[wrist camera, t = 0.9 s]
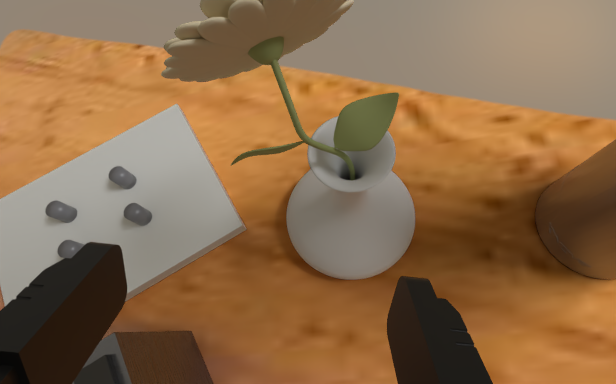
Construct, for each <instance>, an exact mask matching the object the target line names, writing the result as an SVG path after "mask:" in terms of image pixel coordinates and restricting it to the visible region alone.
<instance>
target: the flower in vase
mask: <svg viewBox="0 0 616 384" xmlns="http://www.w3.org/2000/svg"><path fill="white" fill-rule="evenodd" d="M345 1H346V0H201V2H200V7H201V10H202V12H203V13H204V14H205V15H206V16H207V17H208V19H206V20H204V21H194V22H189V23H184V24H182V25H180V26H179V27H178V28H176V30H175V35H176V37H177V38H173V39H171V40H169V41H167V42H166V43H165V45H164V49H165V50H166V51H167V52H168V53H169V54H170V55H172V57H169V58H168V59H166V60H165V62H164V64H165V65H166V66H167V68H166V70H164V71H163V72H162V74H161V75H162V76H163V77H165V78H170V79H177V78H179V79H180V80H181V81H187V82H191V81H197V82H207V81H211V80H215V79H218V78H227V77H231V76H234V75H236V74H239V73H241V72H243V71H244V72H247V71H250V70H253V69H255V68H257V67H259V66H261V65H271V66H272V69H273V71H274V74H275V77H276V79H277V82H278V85H279V87H280V90H281V92H282V95H283V98H284V100H285V103H286V106H287V108H288V111H289V114H290V116H291V119H292V122H293V125H294V127H295V130H296V132H297V134H298V135H299V137H300V138H301V139H302V140H303V141H300V142H296V143H292V144H287V145H283V146H277V147H270V148H264V149H257V150H252V151H248V152H246V153H243V154H241V155H240V156H238V157H237V158H236V159H235V160H234V161H233V163H232V164H231V165H233V164H235V163H236V162H238V161H240V160H242V159H244V158H247V157H250V156H257V155H268V154H277V153H281V152H285V151H287V150H290V149H292V148H294V147H296V146H298V145H300V144H302V143H304V142H305V143H306V144H308V145H309V146H308V162H309V165H310V168H311V170H309V171H308V172H307V173H306V174H305V175H304V176H303V177H302V178H301V180H300V181H299V182H298V183H297V185H296V186H295V188H294V190H293V192H292V194H291V196H290V199H289V202H288V206H287V214H286V221H287V229H288V234H289V237H290V239H291V242H292V244H293V246H294V248H295V249H296V251H297V252H298V254H299V255H300V256H301V257H302V258H303V259H304V261H305V262H306V263H308V264H309V265H310V266H311V267H313V268H314V269H316V270H317V271H319V272H321V273H323V274H325V275H328V276H331V277H334V278H339V279H345V280H357V279H365V278H369V277H373V276H375V275H378V274H380V273H382V272H384V271H386V270H387V269H389V268H390V267H391V266H393V265H394V264H395V263H396V262H397V261H398V260H399V259H400V258H401V257H402V256H403V254H404V253H405V252H406V250H407V248H408V247H409V245H410V243H411V240H412V237H413V234H414V229H415V209H414V204H413V201H412V198H411V195H410V193H409V191H408V190H407V188H406V186H405V185H404V183H403V182H402V181H401V179H400V178H399V177H398V176H397V175H396V174H395V173H394V172H393V171H391V170H392V167H393V165H394V162H395V155H396V151H395V144H394V141H393V139H392V137H391V135H390V133H389V132H388V128H389V126H390V123H391V121H392V119H393V116H394V113H395V110H396V106H397V102H398V97H399V93H388V94H382V95H376V96H372V97H368V98H364V99H360V100H357V101H355V102H352V103H350V104H349V105H347V106H345V107H344V108H343V109H342V111H341V112H340V114H339V116H337V117H335V118H332V119H330V120H328V121H326V122H325V123H323V124H322V125H321V126H320V127H319V128H318V129H317V130H316V131H315V133H314V134H313V136H312V138H309V137H308V136H307V135H306V134H305V132H304V131H303V129H302V127H301V124H300V122H299V119H298V116H297V113H296V111H295V108H294V105H293V102H292V100H291V97H290V94H289V91H288V89H287V86H286V83H285V80H284V78H283V75H282V72H281V69H280V67H279V64H278V60H279V59H280V58H281V57H282V56H283V55H285V54H288V53H291V52H293V51H294V50H296V49H298V48H299V47H301V46H302V45H303V44H305V43H308V42H310V41H312V40H314V39H316V38H318V37H319V36H320V35H322V34H323V33H324V32H325V31H327V29H328V27H329V26H331V25H332V24H334V23H335V22H336V21H337V20H338V19H339V18H340V17H341V15H342V14H344V13H345V12H346V11H347V10H348V9H349V8H350V7H351V6H352V5H353V3H354V1H353V0H349V1H346V2H345Z"/></svg>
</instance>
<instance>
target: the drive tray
mask: <svg viewBox="0 0 616 384" xmlns="http://www.w3.org/2000/svg"><path fill="white" fill-rule="evenodd" d="M245 230H247V229H246V227H245V225H244V223H243V221H242V219H241V218H240V216H239V214H238V212H237V210H236V208H235V206H234V205H233V203H232V201H231V199H230V197H229V195H228V194H227V192H226V190H225V188H224V186H223V184H222V183H221V181H220V179H219V177H218V175H217V173H216V171H215V170H214V168H213V166H212V164H211V162H210V160H209V159H208V157H207V155H206V153H205V151H204V149H203V148H202V146H201V144H200V142H199V140H198V138H197V136H196V135H195V133H194V131H193V129H192V127H191V125H190V124H189V122H188V120H187V118H186V116H185V114H184V112H183V111H182V110H181V108H180V107H179V106H178V104H175V105H173V106H172V107H170V108H168V109H166V110H164V111H162V112H160V113H159V114H157V115H155V116H153V117H151V118H149V119H148V120H146V121H144V122H142V123H140V124H138V125H136V126H135V127H133V128H131V129H129V130H127V131H125V132H123V133H122V134H120V135H118V136H116V137H114V138H112V139H111V140H109V141H107V142H105V143H103V144H101V145H99V146H98V147H96V148H94V149H92V150H90V151H88V152H86V153H85V154H83V155H81V156H79V157H77V158H75V159H74V160H72V161H70V162H68V163H66V164H64V165H62V166H61V167H59V168H57V169H55V170H53V171H51V172H49V173H48V174H46V175H44V176H42V177H40V178H38V179H37V180H35V181H33V182H31V183H29V184H27V185H25V186H24V187H22V188H20V189H18V190H16V191H14V192H12V193H11V194H9V195H7V196H5V197H3V198H1V199H0V286H1V291H2V295H3V300H4V304H5V306H6V305H7V304H8V303H9V302H10V301H11V300H13V299H16V296H17V295H18V294H19V293H20V292H21V291H22V290H23V289H24V288H25V287H29V284H30V283H31V282H32V281H33V280H34V279H35V278H36V277H37V276H38V275H39V274H40V273H41V272H42V271H43V270H44V269H46V268H48V267H50V266H52V265H53V264H55V263H57V262H59V261H61V260H62V259H64V258H72V257H73V256H74V255H75V254H76V253H77V252H78V251H79V250H80V249H81V248H82V247H83V246H84V245H85V244H86V243H88V242H97V243H107V244H116V245H119V246H120V247H121V249H122V254H123V261H124V267H125V274H126V281H127V296H126V300H125V302H126V301H127V300H129V299H131V298H132V297H134V296H136V295H137V294H139V293H141V292H142V291H144V290H146V289H147V288H149V287H151V286H153V285H154V284H156V283H158V282H159V281H161V280H163V279H164V278H166V277H168V276H169V275H171V274H173V273H174V272H176V271H178V270H179V269H181V268H183V267H185V266H186V265H188V264H190V263H191V262H193V261H195V260H196V259H198V258H200V257H201V256H203V255H205V254H206V253H208V252H210V251H211V250H213V249H215V248H216V247H218V246H220V245H222V244H223V243H225V242H227V241H228V240H230V239H232V238H233V237H235V236H237V235H238V234H240V233H242V232H243V231H245Z"/></svg>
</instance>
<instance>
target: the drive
mask: <svg viewBox="0 0 616 384" xmlns="http://www.w3.org/2000/svg"><path fill="white" fill-rule="evenodd" d="M72 384H213V381H212V379H211V377H210V374H209V372H208V370H207V367H206V365H205V362H204V360H203V358H202V355H201V353H200V351H199V348H198V346H197V343H196V341H195V339H194V336H193V334H192V332H191V331H162V332H114V333H113V334H111V335H109V336H108V337H106V338H104V339H103V340H101V341H100V342H99V344H98V345H97V347H96V348H95V350H94V351H93V353H92V354H91V356H90V357H89V359H88V360H87V362H86V363H85V365H84V366H83V368H82V369H81V371H80V372H79V374H78V375H77V377H76V379H75V380H74V382H73V383H72Z"/></svg>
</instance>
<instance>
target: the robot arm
mask: <svg viewBox="0 0 616 384" xmlns="http://www.w3.org/2000/svg"><path fill="white" fill-rule="evenodd" d="M535 220H536V225H537V229H538V233H539V235H540V237H541V239H542V241H543V243H544V244H545V246H546V247H547V248H548V250H549V251H550V253H551V254H552V255H553V256H555V257H556V258H557V259H558V260H559V261H560V262H561V263H563V264H564V265H566V266H567V267H569V268H570V269H572V270H574V271H576V272H578V273H580V274H583V275H585V276H589V277H593V278H597V279H610V280H611V279H616V140H614V141H613V142H611V143H610V144H608V145H607V146H606V147H604V148H603V149H601V150H600V151H598V152H597V153H596V154H594V155H593V156H591V157H590V158H588V159H587V160H586V161H584V162H583V163H581V164H580V165H578V166H577V167H575V168H574V169H573V170H571V171H570V172H568V173H567V174H565V175H564V176H563V177H561V178H560V179H558V180H557V181H556V182H554V183H553V184H551V185H550V186H549V187H548V188H547V189H546V190H545V191H544V192H543V193H542V195H541V196H540V198H539V200H538V202H537V206H536V211H535ZM126 296H127V281H126V274H125V267H124V261H123V254H122V249H121V247H120V246H119V245H116V244H107V243H97V242H88V243H86V244H85V245H84V246H83V247H82V248H81V249H80V250H79V251H78V252H77V253H76V254H75V255H74V256H73V257H72V258H64V259H62V260H61V261H59V262H57V263H55V264H53V265H52V266H50V267H48V268H46V269H44V270H43V271H42V272H41V273H40V274H39V275H38V276H37V277H36V278H35V279H34V280H33V281H32V282H31V283H30V284H29V287H25V288H24V289H23V290H22V291H21V292H20V293H19V294H18V295H17V296H16V299H13V300H11V301H10V302H9V303H8V304H7V305H6V306H5V307H4V308H3V309H2V310H1V311H0V384H72V383H73V382H74V380H75V379H76V377H77V375H78V374H79V372H80V371H81V369H82V368H83V366H84V365H85V363H86V362H87V360H88V359H89V357H90V356H91V354H92V353H93V351H94V350H95V348H96V347H97V345H98V344H99V342H100V341H101V339H102V338H103V336H104V335H105V333H106V332H107V330H108V329H109V327H110V326H111V324H112V323H113V321H114V320H115V318H116V317H117V315H118V313H119V312H120V310H121V309H122V307H123V305H124V303H125V300H126ZM387 335H388V340H389V345H390V349H391V354H392V359H393V363H394V368H395V372H396V377H397V381H398V384H493V383H492V381H491V379H490V376H489V374H488V372H487V370H486V368H485V366H484V364H483V362H482V360H481V357H480V355H479V353H478V351H477V349H476V348H475V347H474V343H473V341H472V339H471V336H470V334H469V333H467V328H466V326H465V324H464V322H463V320H462V318H461V315H460V314H459V312H458V311H457V310H456V309H455V308H454V307H453V306H452V305H451V304H450V303H449V302H448V301H447V300H446V299H440V298H437V297H436V295H435V292H434V290H433V287H432V285H431V283H430V281H429V280H428V279H424V278H415V277H406V276H401V277H400V278H399V280H398V283H397V287H396V290H395V293H394V297H393V300H392V303H391V307H390V310H389V314H388V319H387Z"/></svg>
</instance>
